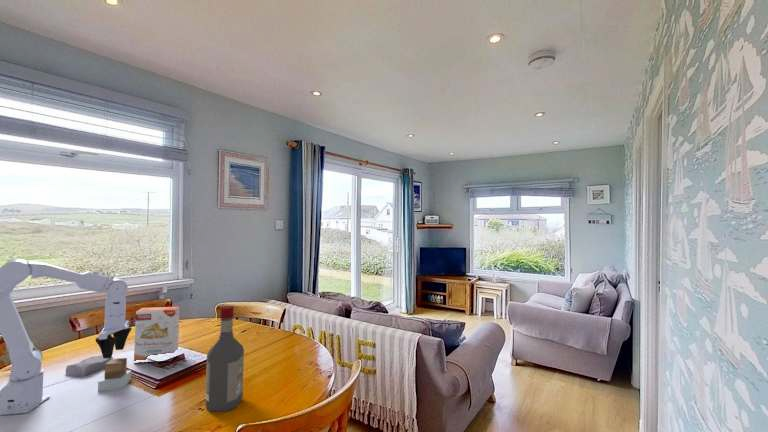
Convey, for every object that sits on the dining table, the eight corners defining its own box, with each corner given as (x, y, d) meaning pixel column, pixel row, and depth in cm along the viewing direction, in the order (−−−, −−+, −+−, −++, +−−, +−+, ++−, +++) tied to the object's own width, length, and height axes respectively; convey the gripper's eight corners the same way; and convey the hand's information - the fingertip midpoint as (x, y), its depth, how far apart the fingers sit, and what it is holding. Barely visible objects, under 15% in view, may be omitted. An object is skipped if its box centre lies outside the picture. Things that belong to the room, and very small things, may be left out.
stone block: (61, 380, 123) (84, 377, 122) (60, 366, 124) (83, 363, 122) (94, 367, 135) (116, 365, 133) (93, 355, 135) (114, 352, 134)
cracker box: (133, 364, 133) (135, 311, 133) (139, 358, 139) (141, 307, 139) (173, 361, 137) (175, 309, 137) (178, 355, 142) (179, 305, 143)
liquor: (244, 396, 110) (247, 303, 111) (233, 412, 101) (236, 311, 102) (216, 396, 110) (218, 303, 111) (202, 412, 101) (205, 310, 102)
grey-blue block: (123, 389, 114) (123, 378, 115) (97, 392, 112) (98, 381, 112) (130, 380, 121) (131, 370, 121) (106, 382, 119) (107, 372, 119)
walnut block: (120, 377, 115) (120, 362, 115) (104, 379, 114) (105, 364, 114) (126, 372, 119) (126, 357, 120) (111, 373, 118) (111, 358, 118)
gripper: (117, 319, 111) (115, 361, 111) (138, 308, 126) (137, 345, 125) (92, 320, 110) (90, 362, 110) (116, 309, 124) (115, 346, 124)
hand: (113, 353), depth 117 cm, fingers open, 7 cm apart
